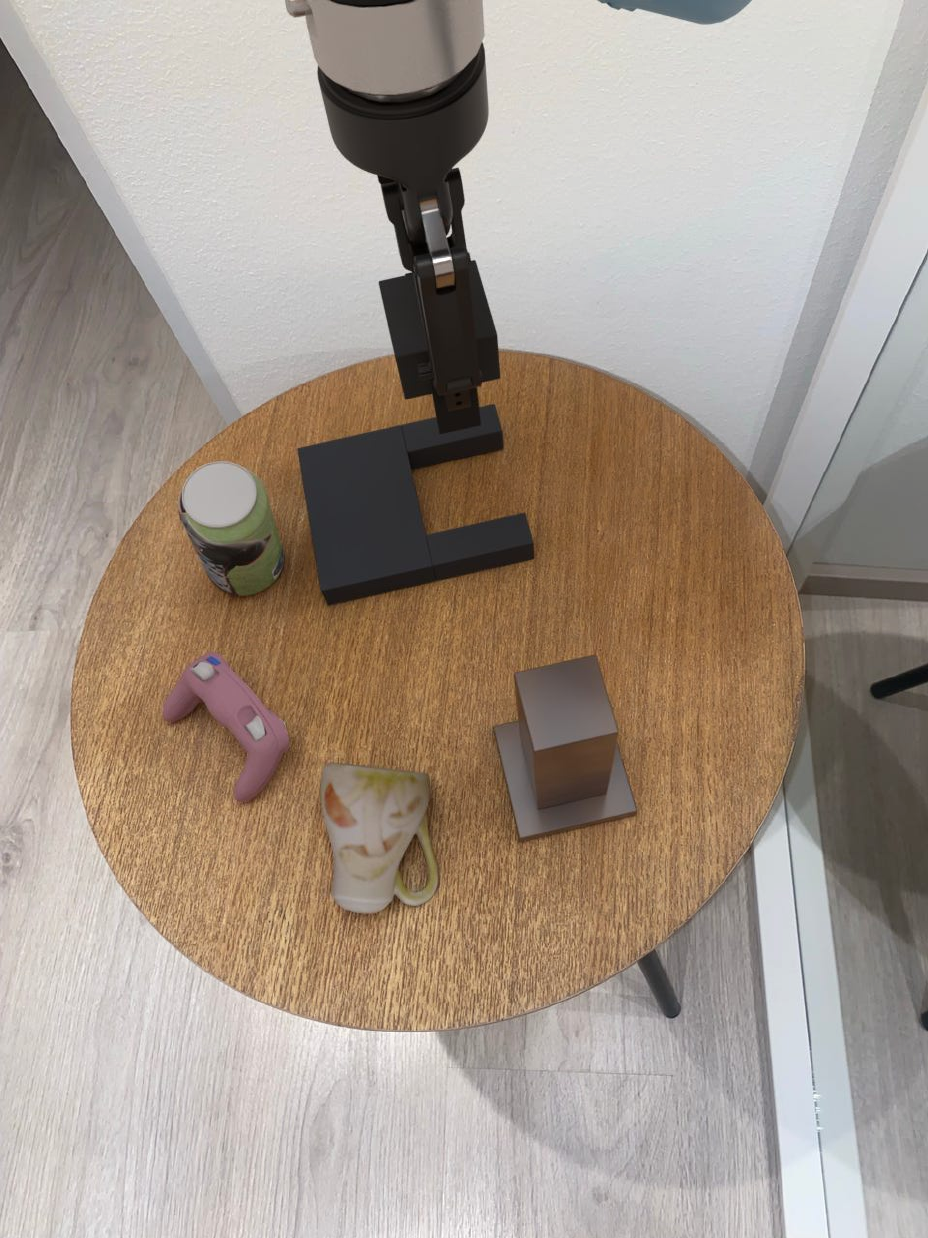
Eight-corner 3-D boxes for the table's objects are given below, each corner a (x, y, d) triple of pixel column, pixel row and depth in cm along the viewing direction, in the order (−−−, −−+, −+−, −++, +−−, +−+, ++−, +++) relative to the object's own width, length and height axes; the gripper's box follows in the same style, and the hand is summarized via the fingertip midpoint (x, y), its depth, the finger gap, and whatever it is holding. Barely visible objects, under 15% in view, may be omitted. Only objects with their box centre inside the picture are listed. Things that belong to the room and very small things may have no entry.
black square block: (479, 305, 62) (475, 258, 58) (500, 379, 59) (497, 334, 56) (387, 326, 62) (377, 280, 58) (405, 400, 59) (395, 357, 56)
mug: (313, 926, 64) (266, 822, 58) (372, 815, 71) (334, 713, 65) (417, 945, 61) (377, 837, 55) (467, 828, 68) (436, 722, 62)
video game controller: (292, 780, 69) (305, 722, 64) (240, 813, 67) (249, 755, 62) (209, 690, 73) (215, 628, 68) (156, 718, 70) (158, 656, 65)
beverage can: (229, 524, 77) (176, 435, 66) (314, 545, 76) (274, 458, 65) (196, 593, 75) (136, 512, 64) (284, 616, 73) (237, 538, 62)
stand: (604, 704, 68) (615, 621, 56) (636, 815, 65) (656, 753, 52) (493, 730, 68) (479, 653, 55) (519, 842, 65) (511, 787, 52)
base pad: (496, 422, 79) (494, 403, 77) (534, 558, 74) (533, 542, 71) (304, 465, 79) (296, 447, 77) (327, 605, 73) (320, 591, 71)
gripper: (287, -61, 47) (368, 289, 68) (349, 221, 39) (420, 518, 59) (439, -93, 47) (474, 266, 68) (533, 180, 39) (539, 491, 60)
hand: (448, 383), depth 64 cm, fingers closed on black square block, 6 cm apart
